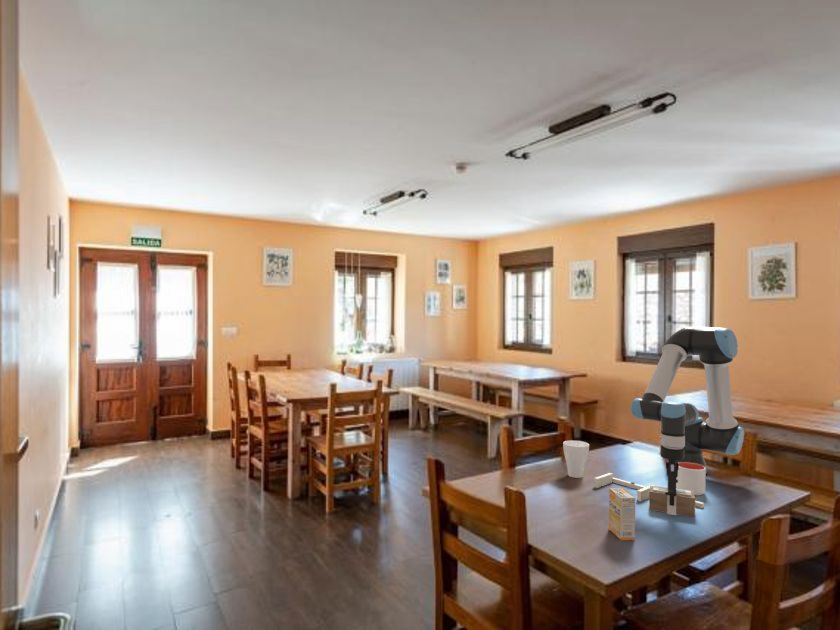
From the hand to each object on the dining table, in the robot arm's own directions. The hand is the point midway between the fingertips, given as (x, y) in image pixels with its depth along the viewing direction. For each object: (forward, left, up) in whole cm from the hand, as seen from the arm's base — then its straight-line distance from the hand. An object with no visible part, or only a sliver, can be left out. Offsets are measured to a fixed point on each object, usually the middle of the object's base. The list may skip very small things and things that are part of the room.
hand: (671, 507), depth 179 cm
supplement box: (+33, 0, -1) cm, 33 cm away
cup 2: (-24, -4, -1) cm, 24 cm away
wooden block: (0, 0, -1) cm, 1 cm away
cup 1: (-5, -42, -1) cm, 42 cm away
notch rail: (-6, -12, -1) cm, 13 cm away
